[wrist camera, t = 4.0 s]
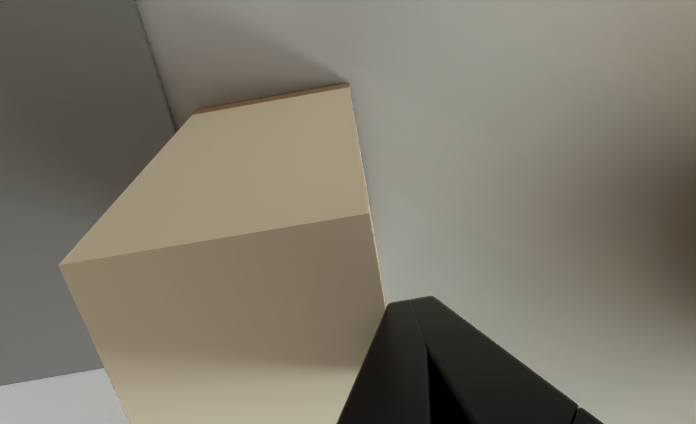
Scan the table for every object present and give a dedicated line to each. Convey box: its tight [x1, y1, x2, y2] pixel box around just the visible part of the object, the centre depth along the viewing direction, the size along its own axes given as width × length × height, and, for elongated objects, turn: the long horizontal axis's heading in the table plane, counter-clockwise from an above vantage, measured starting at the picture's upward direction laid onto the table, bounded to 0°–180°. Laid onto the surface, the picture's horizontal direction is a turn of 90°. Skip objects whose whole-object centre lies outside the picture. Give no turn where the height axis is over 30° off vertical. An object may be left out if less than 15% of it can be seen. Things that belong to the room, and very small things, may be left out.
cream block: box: [58, 83, 386, 424], centre depth 13 cm, size 4×4×9 cm
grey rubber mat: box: [0, 0, 176, 386], centre depth 17 cm, size 10×12×1 cm
